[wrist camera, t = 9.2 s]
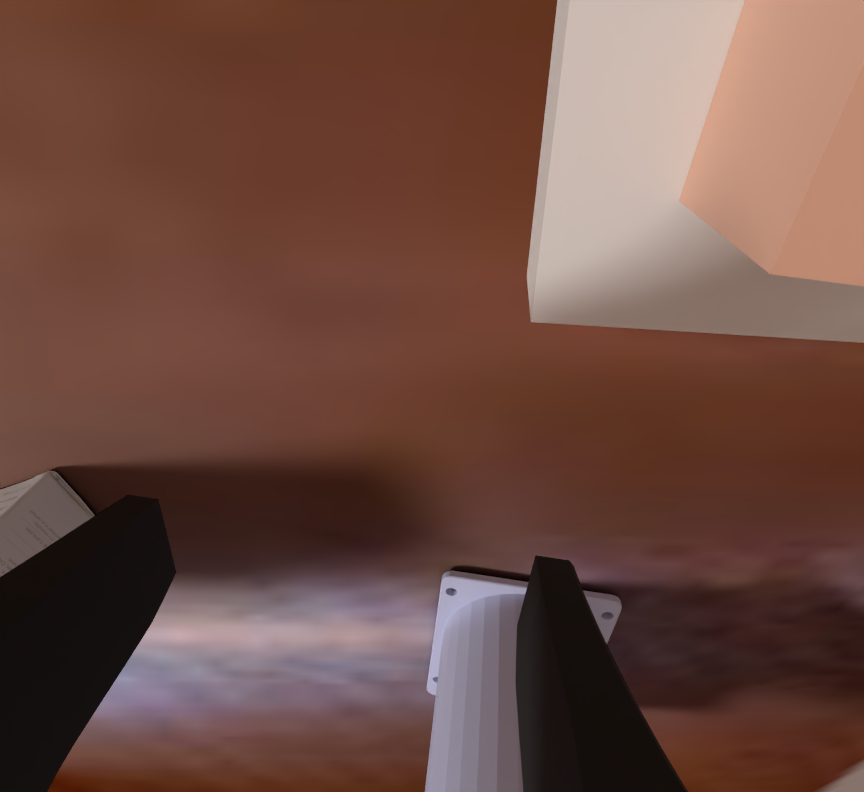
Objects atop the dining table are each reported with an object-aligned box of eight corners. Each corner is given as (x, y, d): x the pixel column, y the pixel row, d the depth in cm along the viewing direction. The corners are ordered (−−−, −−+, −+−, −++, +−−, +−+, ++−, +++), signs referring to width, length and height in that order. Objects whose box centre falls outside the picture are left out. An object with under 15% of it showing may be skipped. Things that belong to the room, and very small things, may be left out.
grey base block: (855, 289, 17) (943, 347, 13) (526, 271, 18) (531, 321, 14) (1058, -165, 11) (1290, -261, 8) (573, -156, 12) (598, -239, 9)
